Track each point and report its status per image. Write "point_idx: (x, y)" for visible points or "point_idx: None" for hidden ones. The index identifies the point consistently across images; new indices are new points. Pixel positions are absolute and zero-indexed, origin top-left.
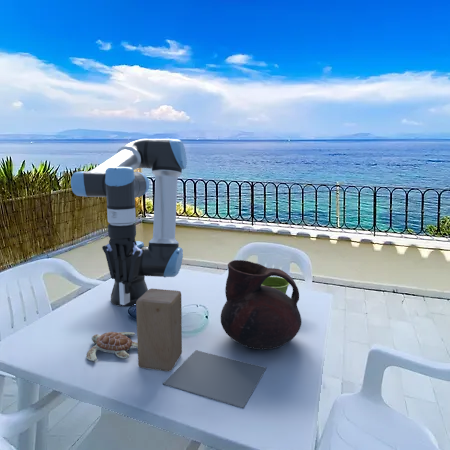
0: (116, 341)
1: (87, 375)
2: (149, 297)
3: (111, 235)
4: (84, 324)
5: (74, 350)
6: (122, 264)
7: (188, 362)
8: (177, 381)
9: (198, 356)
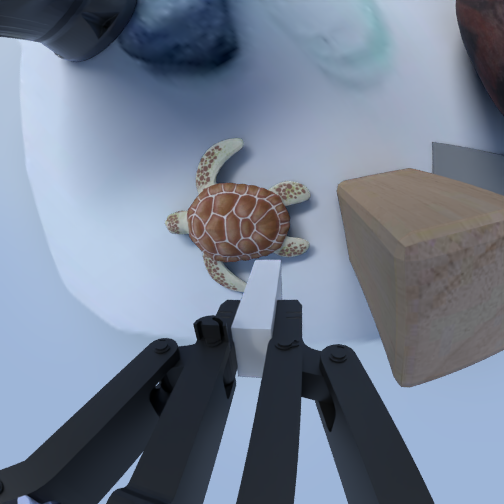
0: (257, 241)
1: None
2: (448, 356)
3: None
4: (94, 168)
5: (170, 265)
6: (201, 456)
7: None
8: None
9: (449, 167)
